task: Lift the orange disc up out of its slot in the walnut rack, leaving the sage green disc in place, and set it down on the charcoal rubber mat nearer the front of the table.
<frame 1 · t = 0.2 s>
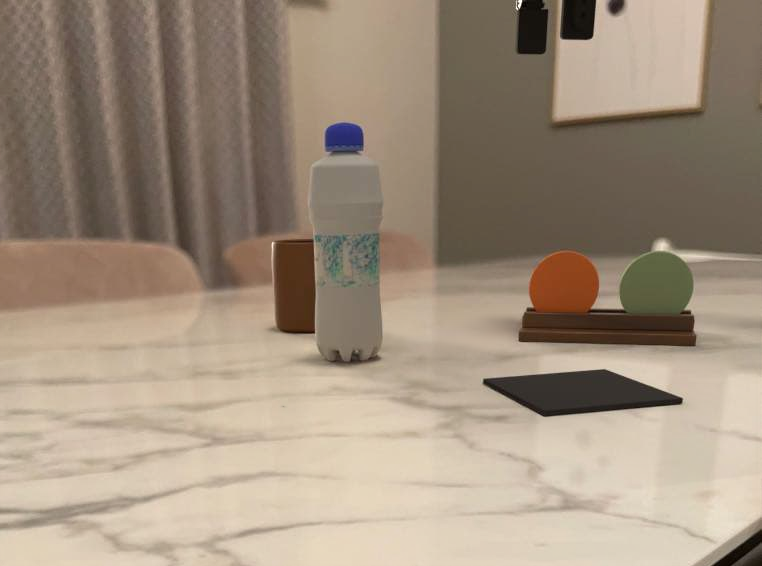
hand: (552, 47, 83), 27 cm above the table, tool pointing down, fingers open, 9 cm apart
orange disc: (561, 321, 89), point 1 cm above the table, touching disc rack
disc rack: (604, 335, 88), on the table
green disc: (651, 323, 86), point 1 cm above the table, touching disc rack
mat: (577, 392, 65), on the table
mug: (327, 329, 96), on the table
bottle: (349, 359, 80), on the table
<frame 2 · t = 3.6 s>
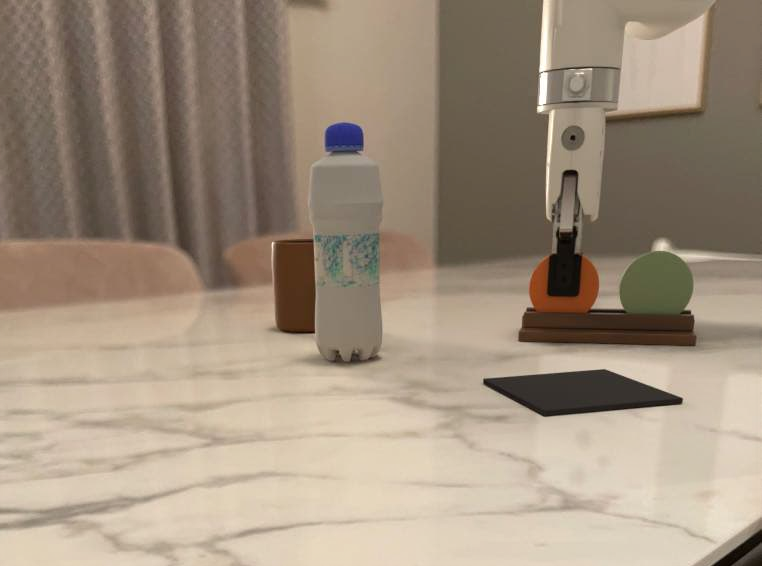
hand: (563, 293, 88), 4 cm above the table, tool pointing down, fingers closed on orange disc, 1 cm apart
orange disc: (561, 321, 89), point 1 cm above the table, touching disc rack, gripper
everything else where it was.
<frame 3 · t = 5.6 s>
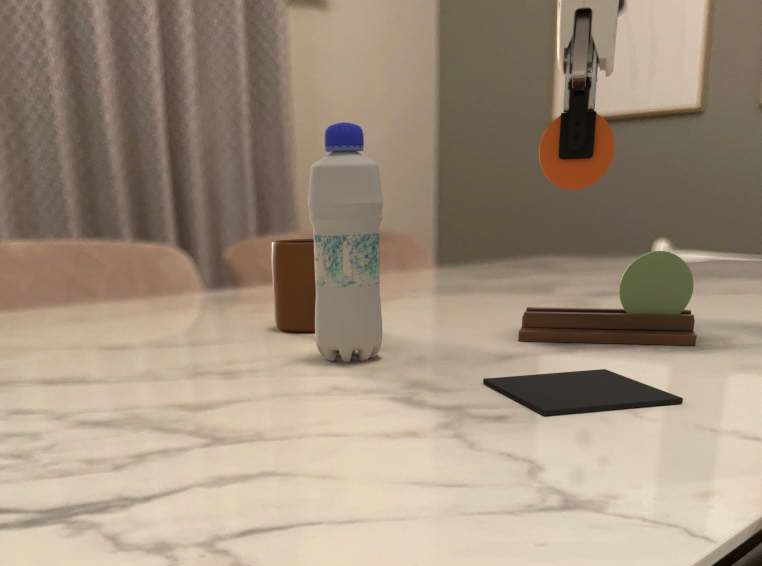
hand: (576, 157, 82), 17 cm above the table, tool pointing down, fingers closed on orange disc
orange disc: (574, 189, 83), point 14 cm above the table, touching gripper
everything else where it was.
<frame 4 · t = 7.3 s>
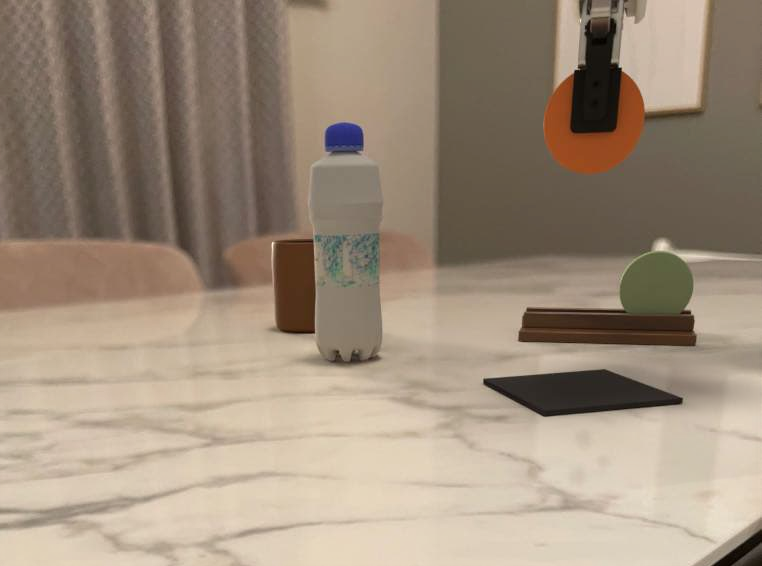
hand: (593, 131, 61), 18 cm above the table, tool pointing down, fingers closed on orange disc
orange disc: (589, 174, 63), point 15 cm above the table, touching gripper
everything else where it was.
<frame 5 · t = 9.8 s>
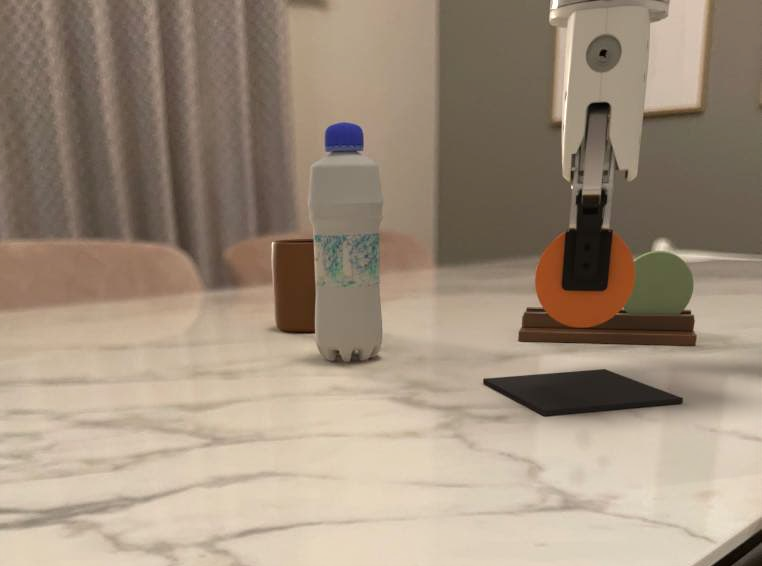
hand: (584, 286, 62), 8 cm above the table, tool pointing down, fingers closed on orange disc
orange disc: (580, 326, 63), point 5 cm above the table, touching gripper
everything else where it was.
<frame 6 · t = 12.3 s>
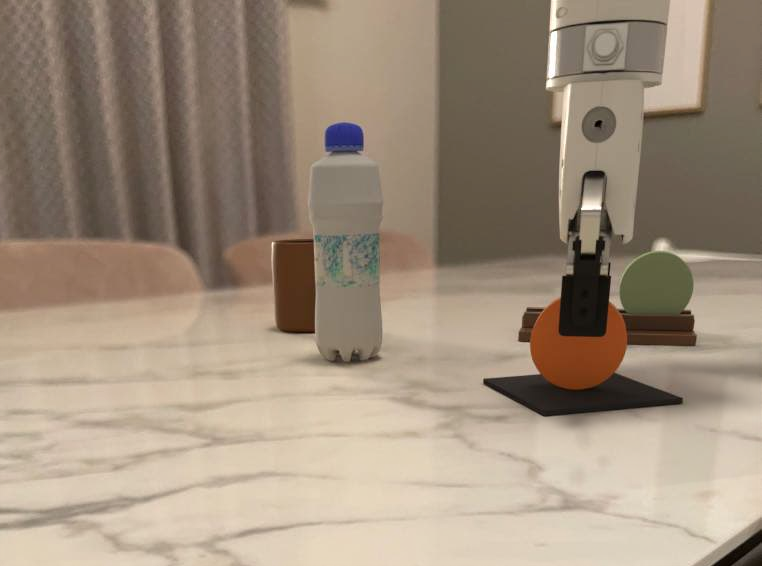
hand: (583, 324, 63), 5 cm above the table, tool pointing down, fingers open, 9 cm apart
orange disc: (576, 387, 65), resting on mat
everything else where it was.
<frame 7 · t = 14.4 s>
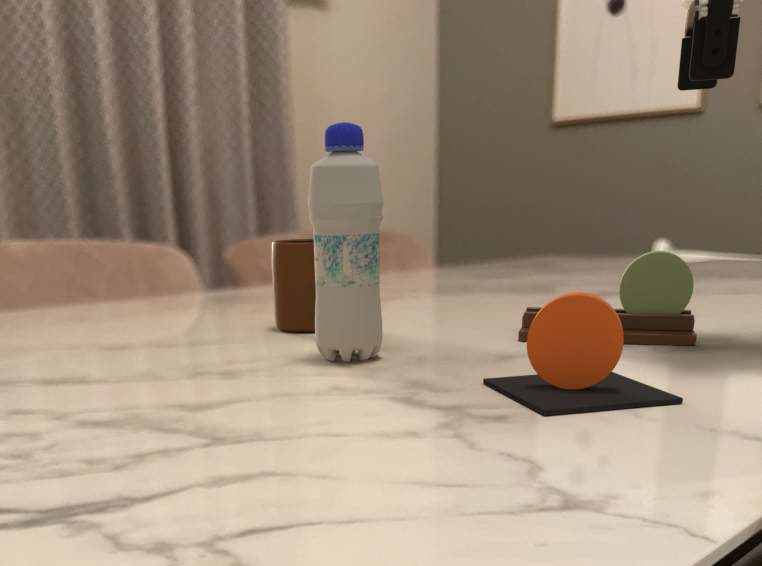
hand: (703, 84, 70), 22 cm above the table, tool pointing down, fingers open, 9 cm apart
nothing on the table moved.
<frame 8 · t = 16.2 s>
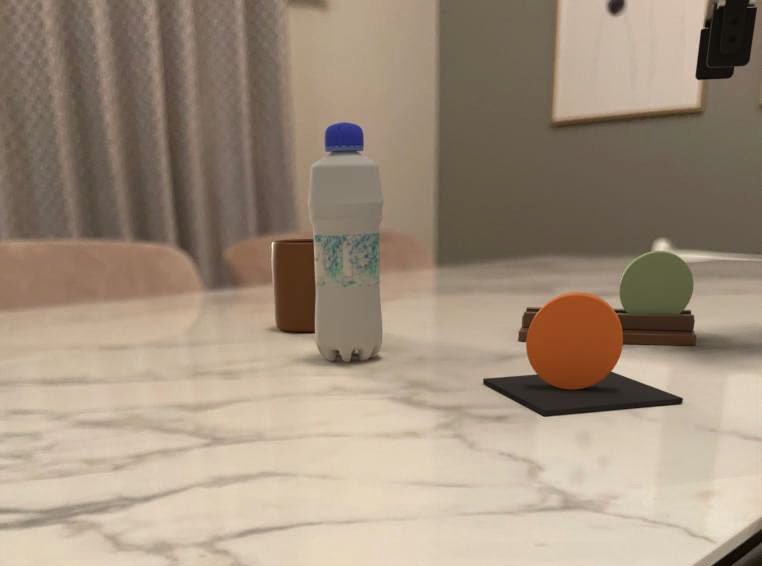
hand: (720, 73, 73), 23 cm above the table, tool pointing down, fingers open, 9 cm apart
nothing on the table moved.
at the end: orange disc inside the target area on the mat (0.1 cm from its centre), point 0.4 cm above the mat's base; the gripper is holding nothing; green disc moved 0.0 cm from its start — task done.
